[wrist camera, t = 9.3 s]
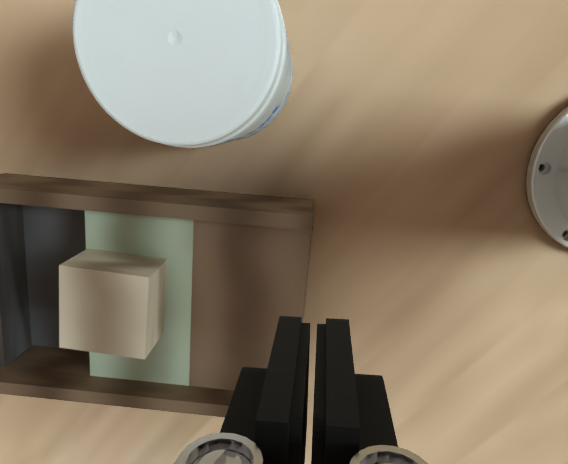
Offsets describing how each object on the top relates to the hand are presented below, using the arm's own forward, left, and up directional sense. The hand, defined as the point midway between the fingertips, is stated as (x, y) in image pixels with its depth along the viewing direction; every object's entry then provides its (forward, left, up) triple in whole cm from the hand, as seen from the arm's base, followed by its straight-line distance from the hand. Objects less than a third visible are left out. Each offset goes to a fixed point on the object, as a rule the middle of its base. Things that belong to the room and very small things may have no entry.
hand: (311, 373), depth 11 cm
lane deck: (+12, +8, -26) cm, 29 cm away
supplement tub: (+7, -9, -26) cm, 28 cm away
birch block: (+13, +8, -22) cm, 26 cm away
